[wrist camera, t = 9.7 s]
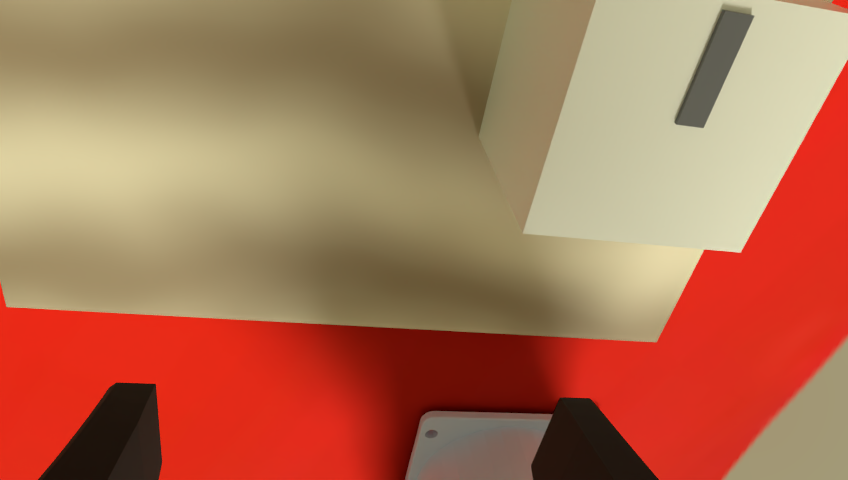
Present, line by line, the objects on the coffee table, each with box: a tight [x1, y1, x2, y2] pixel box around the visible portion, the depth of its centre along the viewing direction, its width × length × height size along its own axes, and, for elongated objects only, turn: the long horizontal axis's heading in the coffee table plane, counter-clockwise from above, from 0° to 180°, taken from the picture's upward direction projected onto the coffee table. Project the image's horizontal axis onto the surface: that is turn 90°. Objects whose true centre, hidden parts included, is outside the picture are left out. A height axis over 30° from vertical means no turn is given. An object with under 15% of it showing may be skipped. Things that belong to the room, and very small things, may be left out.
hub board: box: [0, 0, 833, 342], centre depth 16 cm, size 16×22×4 cm
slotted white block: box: [479, 0, 848, 252], centre depth 14 cm, size 5×5×5 cm
